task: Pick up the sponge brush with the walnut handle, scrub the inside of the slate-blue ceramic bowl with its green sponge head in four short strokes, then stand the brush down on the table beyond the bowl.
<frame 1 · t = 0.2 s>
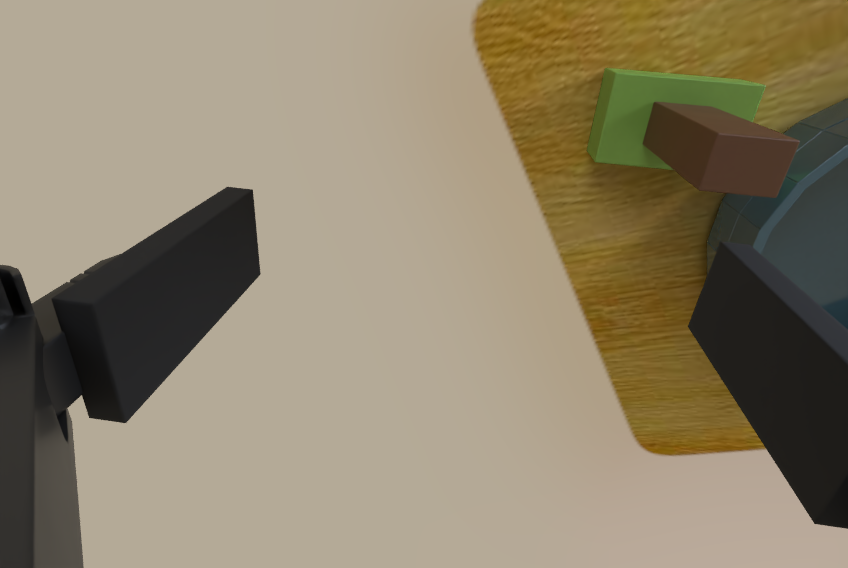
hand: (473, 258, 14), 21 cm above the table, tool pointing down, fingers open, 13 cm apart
sponge brush: (660, 116, 31), on the table
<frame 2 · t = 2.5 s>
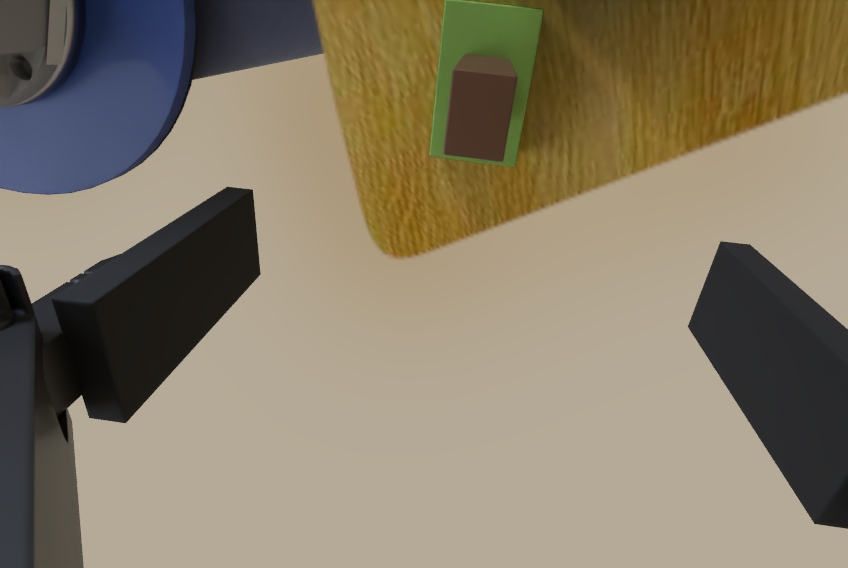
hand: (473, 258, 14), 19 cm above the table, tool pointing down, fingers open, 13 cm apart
sponge brush: (483, 82, 30), on the table
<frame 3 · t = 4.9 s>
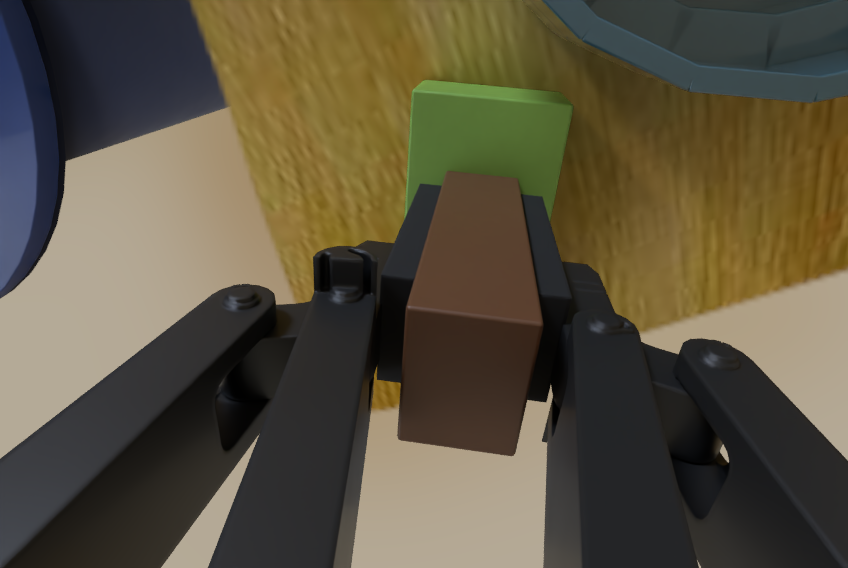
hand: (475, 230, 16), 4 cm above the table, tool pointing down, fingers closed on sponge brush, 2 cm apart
sponge brush: (478, 193, 20), on the table, touching gripper
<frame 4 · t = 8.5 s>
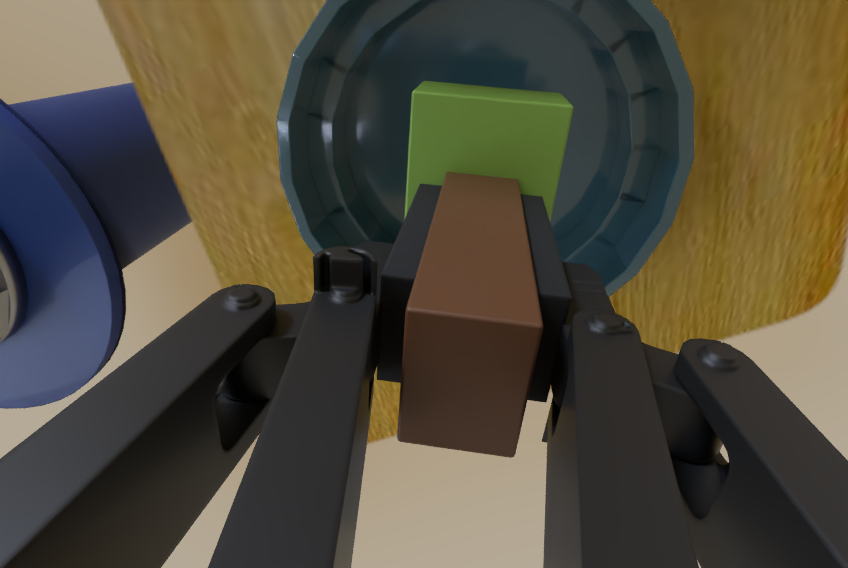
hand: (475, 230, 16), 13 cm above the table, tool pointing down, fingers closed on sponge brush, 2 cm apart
sponge brush: (478, 193, 20), point 9 cm above the table, touching gripper
bowl: (477, 142, 28), on the table
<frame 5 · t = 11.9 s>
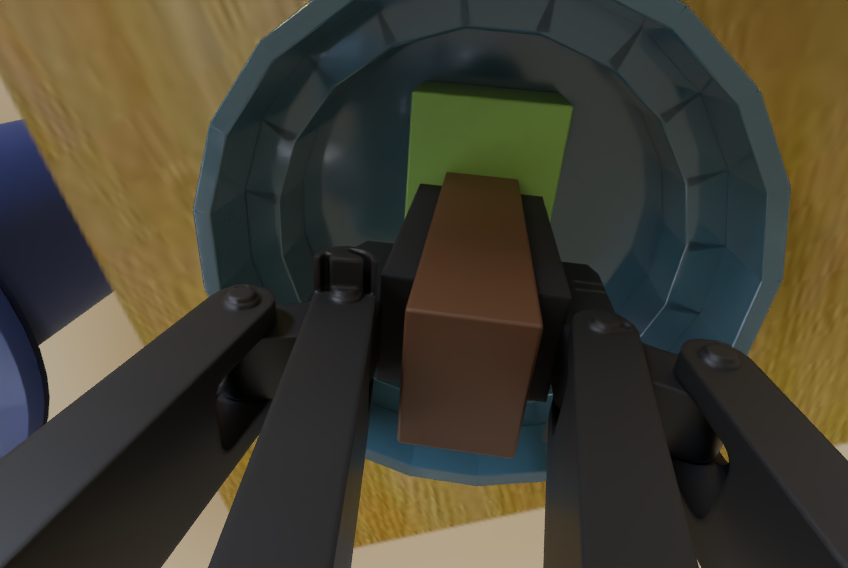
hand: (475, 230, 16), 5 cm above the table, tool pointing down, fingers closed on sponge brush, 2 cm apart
sponge brush: (478, 194, 20), point 1 cm above the table, touching gripper
bowl: (475, 219, 21), on the table
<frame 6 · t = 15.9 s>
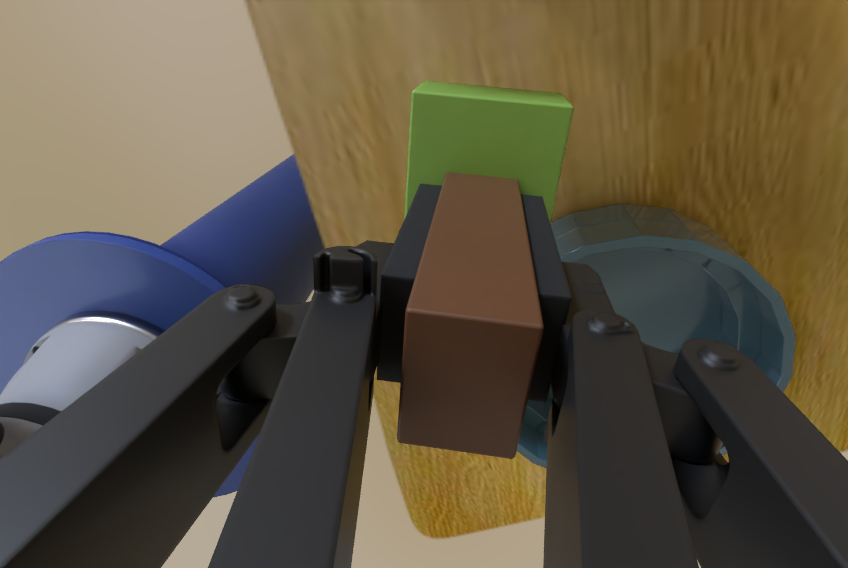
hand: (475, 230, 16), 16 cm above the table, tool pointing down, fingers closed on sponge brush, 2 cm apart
sponge brush: (478, 194, 20), point 12 cm above the table, touching gripper
bowl: (605, 324, 36), on the table
when the fingers open (4 cm above the table, at t = 18.8 s): sponge brush stays where it is, on the table.
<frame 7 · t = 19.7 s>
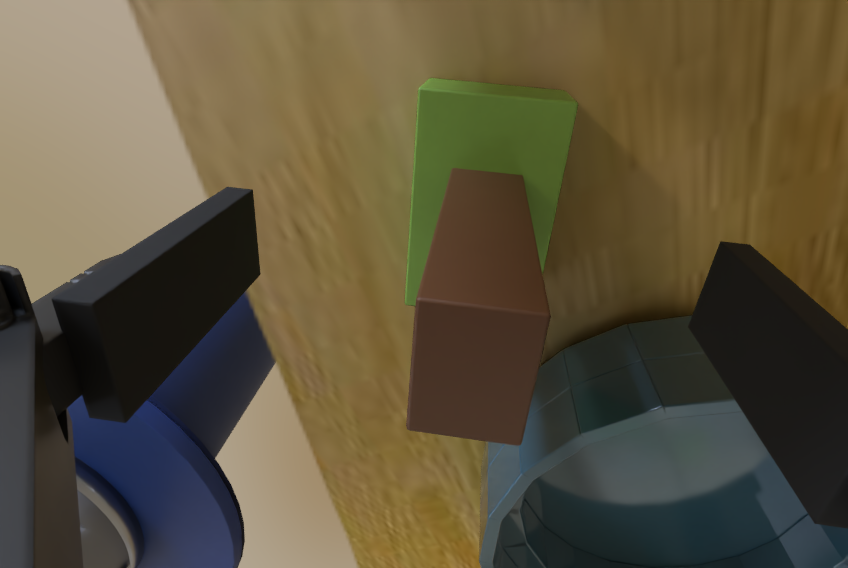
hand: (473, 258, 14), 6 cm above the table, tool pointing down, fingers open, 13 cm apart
sponge brush: (482, 190, 20), on the table
bowl: (663, 461, 25), on the table
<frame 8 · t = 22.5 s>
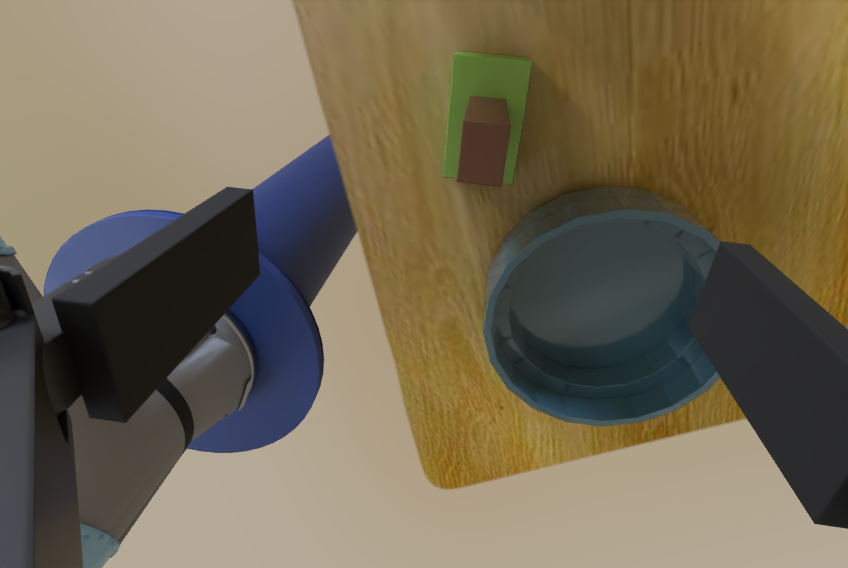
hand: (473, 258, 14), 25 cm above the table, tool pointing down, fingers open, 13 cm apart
sponge brush: (485, 115, 36), on the table
bowl: (595, 290, 42), on the table
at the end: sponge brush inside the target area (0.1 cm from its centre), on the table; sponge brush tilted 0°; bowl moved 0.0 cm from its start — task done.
